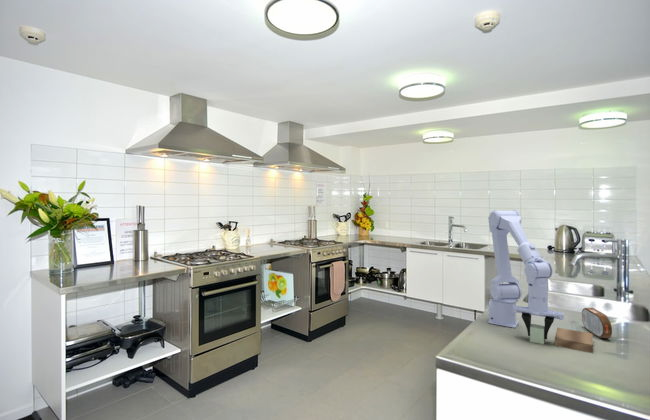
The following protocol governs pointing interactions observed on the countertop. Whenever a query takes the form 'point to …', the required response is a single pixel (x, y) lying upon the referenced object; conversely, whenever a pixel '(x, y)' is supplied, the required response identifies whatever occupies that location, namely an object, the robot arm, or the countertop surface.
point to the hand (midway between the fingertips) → (537, 336)
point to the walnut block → (574, 340)
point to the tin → (596, 323)
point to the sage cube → (537, 333)
